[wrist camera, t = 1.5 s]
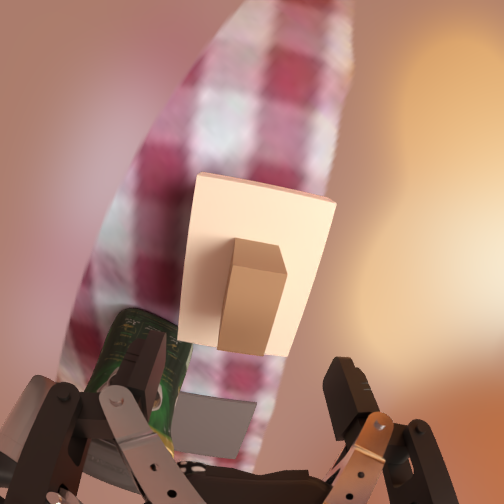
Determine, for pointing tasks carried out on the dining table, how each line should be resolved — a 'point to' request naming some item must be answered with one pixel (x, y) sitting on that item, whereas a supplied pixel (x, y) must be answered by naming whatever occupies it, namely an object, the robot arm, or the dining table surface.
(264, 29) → the dining table surface
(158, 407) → the coffee jar
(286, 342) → the lid
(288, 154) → the dining table surface
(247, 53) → the dining table surface
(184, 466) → the spotted tube
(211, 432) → the mat
